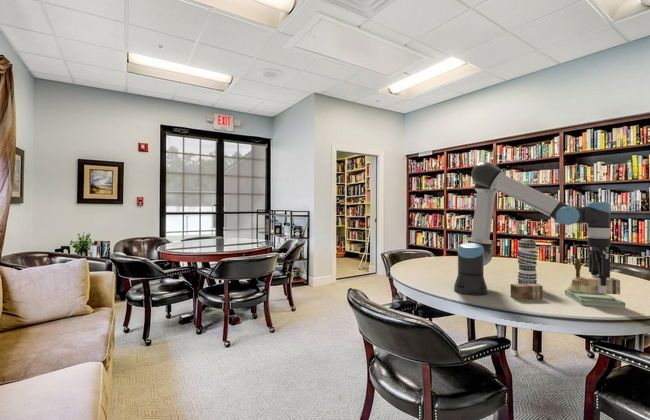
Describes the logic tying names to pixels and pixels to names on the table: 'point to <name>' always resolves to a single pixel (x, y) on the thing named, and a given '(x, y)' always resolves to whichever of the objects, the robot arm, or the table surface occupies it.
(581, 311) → the table surface
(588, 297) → the pale green flat frame
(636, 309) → the table surface
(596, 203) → the robot arm
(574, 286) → the hand bell
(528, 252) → the decorative candle
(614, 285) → the oak bar
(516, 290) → the walnut bar
